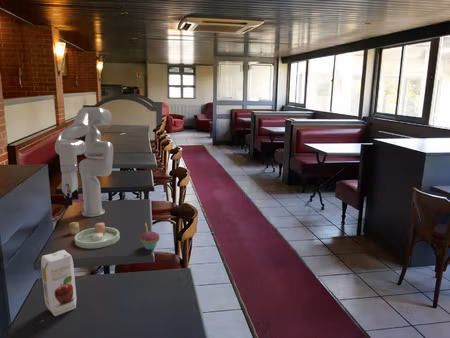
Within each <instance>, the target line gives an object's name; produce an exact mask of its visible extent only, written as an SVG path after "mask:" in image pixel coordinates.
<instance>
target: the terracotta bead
mask: <svg viewBox="0 0 450 338" xmlns="http://www.w3.org/2000/svg"><path fill="white" fill-rule="evenodd" d="M105 227H106V226H105V222H97V223H95V224H94V228H95V230H96V233H103V235H104V234H105Z"/></svg>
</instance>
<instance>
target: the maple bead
mask: <svg viewBox="0 0 450 338" xmlns="http://www.w3.org/2000/svg"><path fill="white" fill-rule="evenodd" d="M79 232H80V223H79V222H77V221H74V222H73V221H72V222H70V223H69V234H70V235H71V236H74V235H75V236H76V234H77V233H79Z"/></svg>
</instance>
